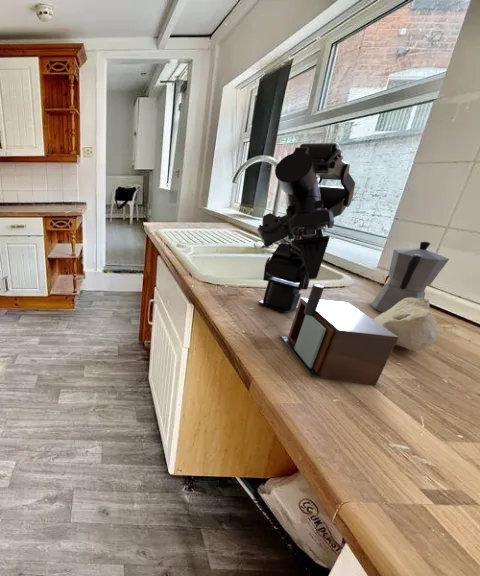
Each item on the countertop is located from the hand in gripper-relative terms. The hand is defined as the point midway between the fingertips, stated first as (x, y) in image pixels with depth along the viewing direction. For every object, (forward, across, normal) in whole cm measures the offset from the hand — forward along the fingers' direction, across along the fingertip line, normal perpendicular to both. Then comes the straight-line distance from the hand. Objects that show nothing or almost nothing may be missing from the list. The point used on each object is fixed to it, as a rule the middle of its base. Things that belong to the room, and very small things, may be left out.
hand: (313, 278), depth 58 cm
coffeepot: (+3, -35, +18) cm, 39 cm away
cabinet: (+15, -2, 0) cm, 15 cm away
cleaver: (+15, +2, -3) cm, 15 cm away
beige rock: (+10, -18, +13) cm, 25 cm away
